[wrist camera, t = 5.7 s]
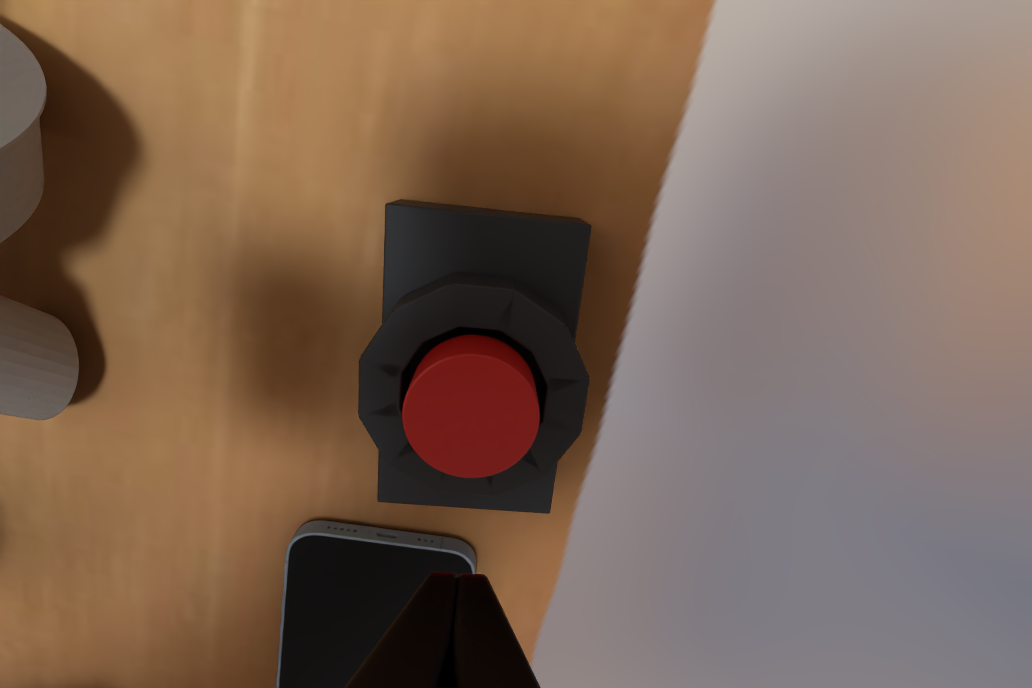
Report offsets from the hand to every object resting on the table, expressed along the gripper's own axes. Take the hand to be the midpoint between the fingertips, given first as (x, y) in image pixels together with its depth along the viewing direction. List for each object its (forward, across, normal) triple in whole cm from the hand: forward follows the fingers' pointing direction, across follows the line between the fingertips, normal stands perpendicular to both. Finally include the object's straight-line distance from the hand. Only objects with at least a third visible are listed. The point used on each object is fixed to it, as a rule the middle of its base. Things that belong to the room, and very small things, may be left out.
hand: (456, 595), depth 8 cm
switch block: (+11, 0, 0) cm, 11 cm away
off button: (+8, 0, 0) cm, 8 cm away
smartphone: (+11, +4, +15) cm, 19 cm away
